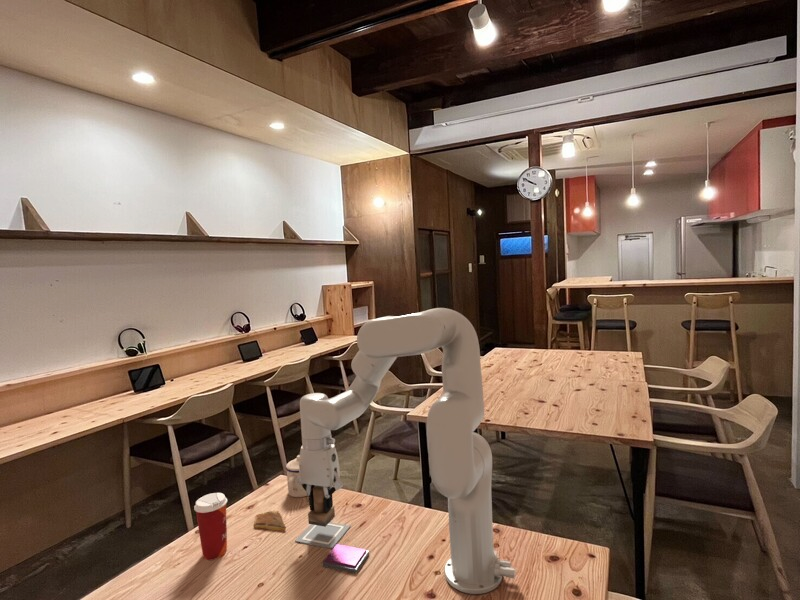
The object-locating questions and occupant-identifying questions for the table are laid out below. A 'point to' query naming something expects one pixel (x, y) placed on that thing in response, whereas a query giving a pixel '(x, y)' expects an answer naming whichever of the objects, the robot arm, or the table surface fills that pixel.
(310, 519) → the stamp
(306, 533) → the marked card
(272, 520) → the shard
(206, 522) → the paper cup
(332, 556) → the ink pad
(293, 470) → the teacup with lid
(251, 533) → the table surface
